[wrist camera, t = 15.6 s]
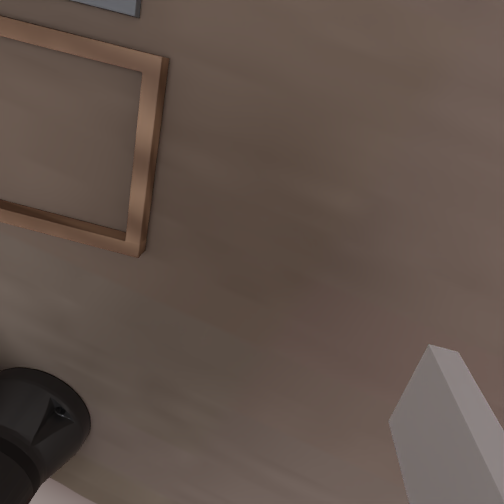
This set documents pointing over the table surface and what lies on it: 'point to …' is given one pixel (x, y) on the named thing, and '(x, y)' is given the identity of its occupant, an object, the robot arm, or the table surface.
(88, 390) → the table surface
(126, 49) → the frame
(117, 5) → the rubber mat
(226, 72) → the table surface
